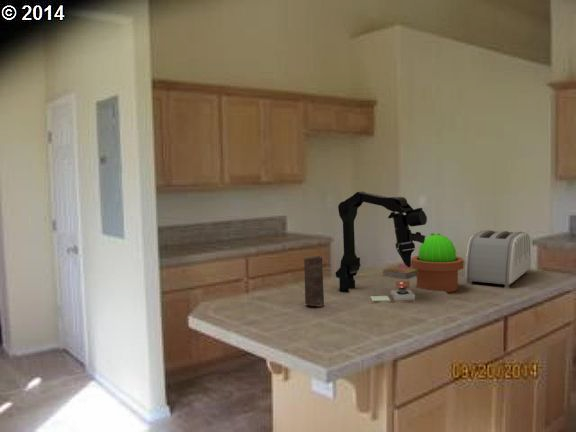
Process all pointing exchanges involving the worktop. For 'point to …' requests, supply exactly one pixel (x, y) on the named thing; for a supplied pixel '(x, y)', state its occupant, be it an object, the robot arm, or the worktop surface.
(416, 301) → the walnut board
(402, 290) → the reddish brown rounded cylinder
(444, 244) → the potted cactus
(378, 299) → the rubber pad
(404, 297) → the block
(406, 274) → the flat patterned box
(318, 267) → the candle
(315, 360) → the worktop surface
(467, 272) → the toaster
